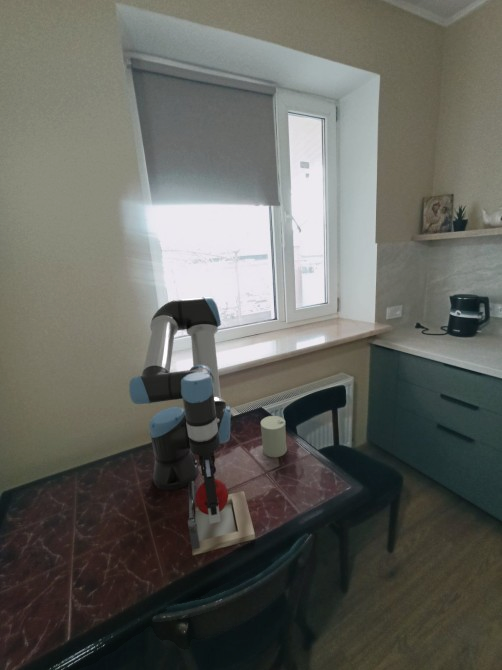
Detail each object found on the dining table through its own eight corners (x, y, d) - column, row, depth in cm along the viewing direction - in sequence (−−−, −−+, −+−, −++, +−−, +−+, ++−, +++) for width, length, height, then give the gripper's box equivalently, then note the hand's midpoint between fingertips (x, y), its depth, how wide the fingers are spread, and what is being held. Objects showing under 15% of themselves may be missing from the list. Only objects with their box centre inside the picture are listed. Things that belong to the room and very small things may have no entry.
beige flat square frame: (192, 555, 73) (191, 550, 72) (191, 507, 87) (190, 503, 87) (255, 538, 76) (254, 533, 75) (244, 495, 90) (243, 490, 90)
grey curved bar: (192, 555, 71) (187, 524, 69) (191, 501, 87) (187, 475, 85) (199, 553, 72) (194, 522, 69) (197, 500, 88) (193, 473, 85)
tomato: (230, 518, 76) (227, 492, 74) (196, 524, 75) (192, 498, 73) (228, 492, 84) (225, 468, 82) (197, 498, 83) (193, 474, 81)
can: (288, 456, 106) (286, 427, 103) (262, 458, 106) (260, 429, 103) (285, 441, 115) (284, 413, 112) (262, 442, 115) (260, 415, 112)
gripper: (223, 457, 64) (233, 538, 70) (214, 410, 85) (222, 476, 91) (188, 464, 63) (201, 546, 69) (188, 415, 84) (198, 482, 89)
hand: (213, 506), depth 80 cm, fingers closed on tomato, 9 cm apart
